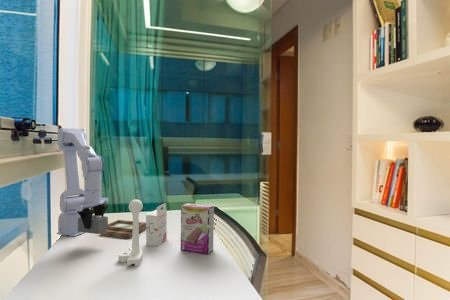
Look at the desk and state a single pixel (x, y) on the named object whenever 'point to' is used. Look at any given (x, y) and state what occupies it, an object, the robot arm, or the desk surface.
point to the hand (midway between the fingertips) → (93, 226)
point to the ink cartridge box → (156, 226)
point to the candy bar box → (197, 228)
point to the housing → (94, 224)
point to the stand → (122, 229)
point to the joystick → (133, 237)
